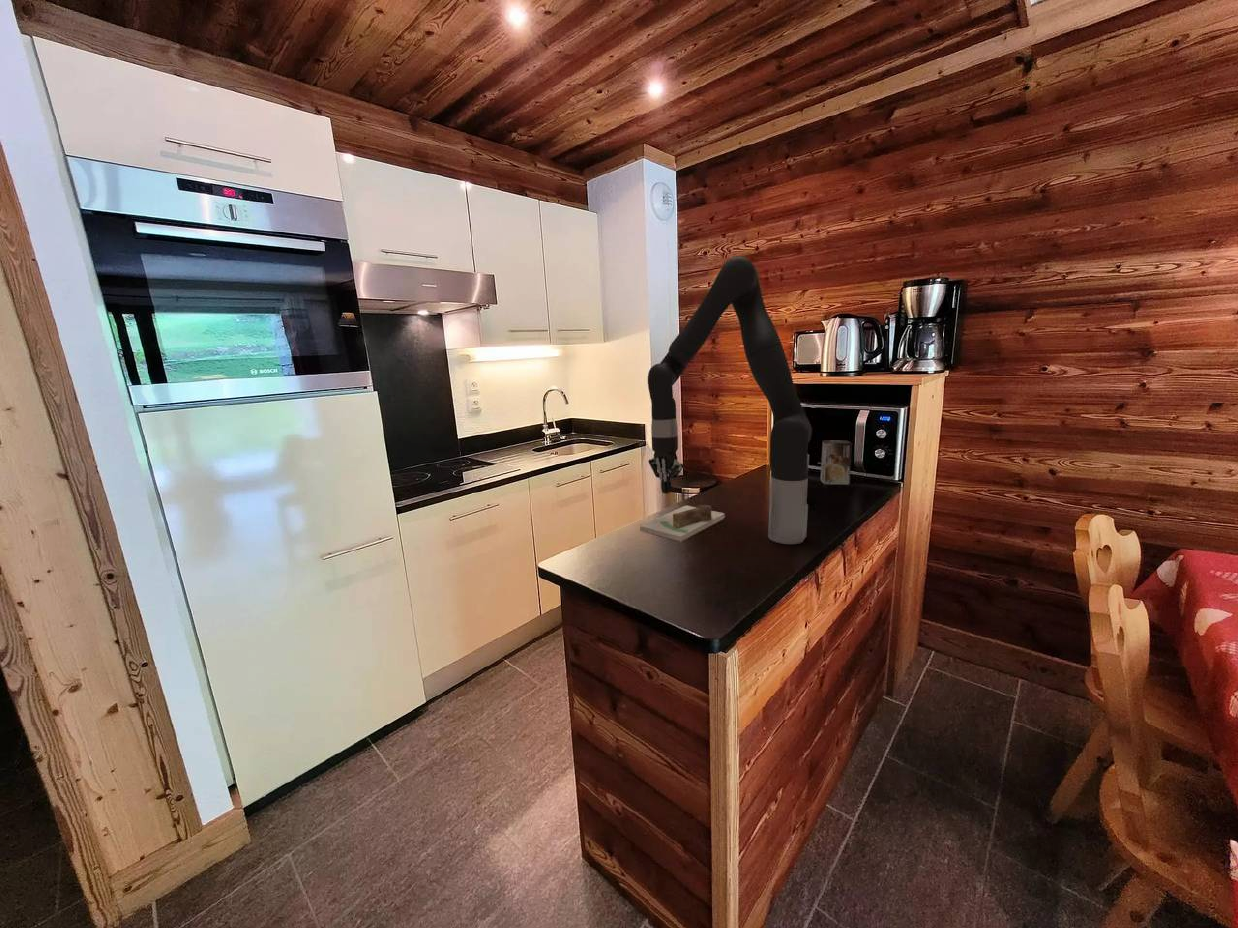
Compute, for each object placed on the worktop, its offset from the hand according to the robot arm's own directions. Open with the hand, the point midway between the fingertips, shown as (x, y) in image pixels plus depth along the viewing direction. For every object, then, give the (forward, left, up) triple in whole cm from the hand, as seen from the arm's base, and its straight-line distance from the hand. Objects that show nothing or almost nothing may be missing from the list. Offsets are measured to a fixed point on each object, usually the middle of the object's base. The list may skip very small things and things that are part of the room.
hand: (666, 492), depth 140 cm
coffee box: (-80, +1, -10) cm, 81 cm away
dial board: (-4, +3, -10) cm, 11 cm away
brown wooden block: (-5, +6, -8) cm, 11 cm away
